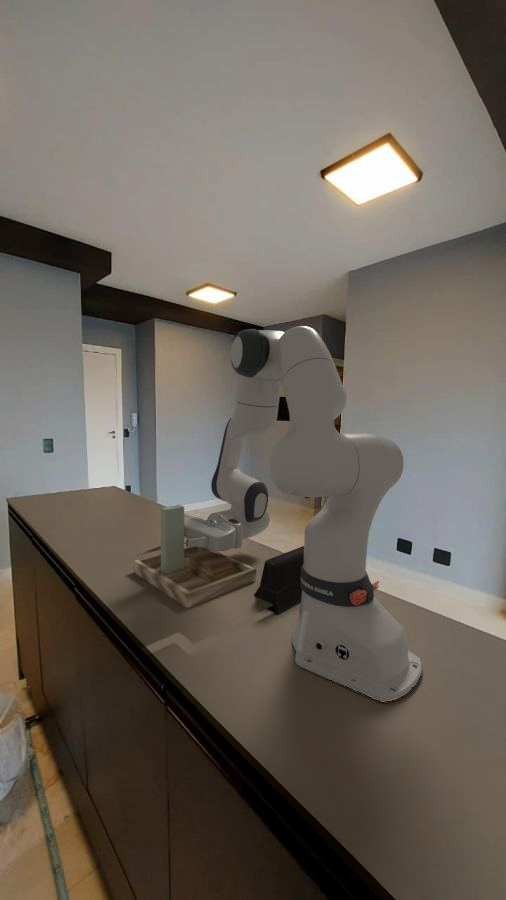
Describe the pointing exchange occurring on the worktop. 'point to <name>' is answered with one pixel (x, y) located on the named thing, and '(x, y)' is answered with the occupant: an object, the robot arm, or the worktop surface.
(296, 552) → the barrier
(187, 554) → the beige wooden tray
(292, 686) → the worktop surface
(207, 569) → the offcut stack
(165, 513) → the sage green plank
